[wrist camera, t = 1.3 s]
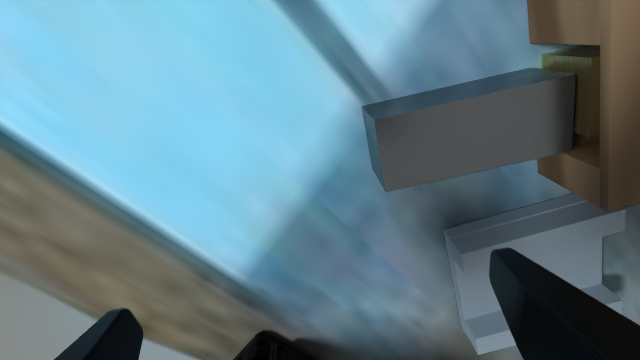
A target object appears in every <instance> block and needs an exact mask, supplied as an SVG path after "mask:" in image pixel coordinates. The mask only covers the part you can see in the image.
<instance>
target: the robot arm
mask: <svg viewBox="0 0 640 360" xmlns="http://www.w3.org/2000/svg"><path fill="white" fill-rule="evenodd" d="M489 279H490V283H491V286H492V288H493V291H494V293H495V295H496V298H497V300H498V303H499V305H500V307H501V310H502V312H503V315H504V317H505V319H506V322H507V324H508V327H509V329H510V332H511V334H512V336H513V339H514V341H515V343H516V345H517V347H518V349H519V351H520V353H521V355H522V357H523V359H524V360H640V325H638V324H636V323H635V322H633V321H631V320H630V319H628V318H626V317H625V316H623V315H622V314H620V313H618V312H617V311H615V310H613V309H612V308H610V307H608V306H607V305H605V304H603V303H602V302H600V301H598V300H597V299H595V298H593V297H592V296H590V295H588V294H587V293H585V292H584V291H582V290H580V289H579V288H577V287H575V286H574V285H572V284H570V283H569V282H567V281H565V280H564V279H562V278H560V277H559V276H557V275H555V274H554V273H552V272H550V271H549V270H547V269H546V268H544V267H542V266H541V265H539V264H537V263H536V262H534V261H532V260H531V259H529V258H527V257H526V256H524V255H522V254H521V253H519V252H517V251H516V250H514V249H512V248H509V247H506V248H500V249H494V250H492V251H491V254H490V266H489ZM142 340H143V329H142V327H141V325H140V324H139V322H138V321H137V320H136V318H135V317H134V315H133V314H132V312H131V311H130V310H129V309H127V308H121V309H115V310H111V311H109V312H107V313H106V314H105V315H104V316H103V317H102V318H101V319H99V320H98V321H97V322H96V323H95V324H94V325H93V326H92V327H91V328H89V329H88V330H87V331H86V332H85V333H84V334H83V335H81V336H80V337H79V338H78V339H77V340H76V341H75V342H73V343H72V344H71V345H70V346H69V347H68V348H67V349H66V350H64V351H63V352H62V353H61V354H60V355H59V356H58V357H56V359H54V360H138V359H139V354H140V350H141V345H142ZM260 340H264V341H260ZM233 360H314V359H312V358H310V357H308V356H306V355H305V354H303V353H301V352H299V351H297V350H295V349H294V348H292V347H290V346H288V345H286V344H284V343H283V342H281V341H279V340H277V339H275V338H274V337H272V336H270V335H268V334H266V333H258V334H257V335H255V337H254V338H253V339H252V340H251V341H250V342H249V343H248V344H247V345H246V346H245V347H244V348H243V350H242V351H241V352H240V353H239V354H238V355H237V356H236V357H235V358H234V359H233Z"/></svg>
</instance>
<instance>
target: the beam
mask: <svg viewBox="0 0 640 360" xmlns="http://www.w3.org/2000/svg"><path fill="white" fill-rule="evenodd" d="M527 5H528V20H529V35H530V43H531V44H576V45H600V134H598V135H594V136H590V137H587V136H584V135H582V134H579V133H576V132H573V136H572V151H569V152H564V153H560V154H555V155H551V156H546V157H542V158H538V173H539V174H541V175H543V176H545V177H546V178H548V179H550V180H552V181H554V182H555V183H557V184H559V185H561V186H562V187H564V188H566V189H568V190H570V191H571V192H573V193H575V194H577V195H578V196H580V197H582V198H584V199H585V200H587V201H589V202H591V203H593V204H594V205H596V206H598V207H600V208H601V209H603V210H605V211H607V212H611V211H614V210H618V209H621V208H625V207H629V206H632V205H636V204H640V0H527Z"/></svg>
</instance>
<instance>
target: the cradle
mask: <svg viewBox="0 0 640 360" xmlns="http://www.w3.org/2000/svg"><path fill="white" fill-rule="evenodd" d="M625 221H626V209H625V208H621V209H618V210H614V211H611V212H607V211H605V210H603V209H601V208H600V207H598V206H596V205H594V204H593V203H591V202H589V201H587V200H585V199H584V198H582V197H580V196H578V195H577V194H575V193H572V194H569V195H565V196H562V197H558V198H554V199H551V200H547V201H544V202H540V203H537V204H533V205H529V206H526V207H522V208H519V209H515V210H512V211H508V212H504V213H501V214H497V215H494V216H490V217H487V218H483V219H479V220H476V221H472V222H469V223H465V224H462V225H458V226H454V227H451V228H447V229H444V236H445V241H446V246H447V252H448V257H449V263H450V268H451V273H452V279H453V284H454V289H455V295H456V300H457V306H458V311H459V316H460V322H461V326H462V328H463V330H464V331H465V333H466V335H467V337H468V338H469V339H470V341H471V343H472V345H473V347H474V348H475V350H476V352H477V354H478V355H480V354H484V353H488V352H492V351H496V350H500V349H503V348H507V347H511V346H515V345H516V343H515V341H514V339H513V336H512V334H511V332H510V329H509V327H508V324H507V322H506V319H505V317H504V315H503V312H502V310H501V307H500V305H499V303H498V300H497V298H496V295H495V293H494V291H493V288H492V286H491V283H490V279H489V266H490V254H491V251H492V250H494V249H500V248H506V247H509V248H512V249H514V250H516V251H517V252H519V253H521V254H522V255H524V256H526V257H527V258H529V259H531V260H532V261H534V262H536V263H537V264H539V265H541V266H542V267H544V268H546V269H547V270H549V271H550V272H552V273H554V274H555V275H557V276H559V277H560V278H562V279H564V280H565V281H567V282H569V283H570V284H572V285H574V286H575V287H577V288H579V289H580V290H582V291H584V292H585V293H587V294H588V295H590V296H592V297H593V298H595V299H597V300H598V301H600V302H602V303H603V304H605V305H607V306H608V307H610V308H612V309H613V310H615V311H617V312H618V313H620V314H622V304H623V300H621V299H620V298H619V297H618V296H617V295H615V294H614V293H613V292H612V291H610V290H609V289H608V288H607V287H605V286H604V285H603V284H602V237H605V236H609V235H612V234H616V233H620V232H623V231H625Z"/></svg>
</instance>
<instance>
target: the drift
mask: <svg viewBox="0 0 640 360" xmlns="http://www.w3.org/2000/svg"><path fill="white" fill-rule="evenodd" d="M575 76H576V74H573V73H565V72H557V71H550V70H542V69H534V68H527V69H522V70H518V71H514V72H509V73H505V74H501V75H496V76H492V77H488V78H483V79H479V80H474V81H470V82H466V83H461V84H457V85H453V86H448V87H444V88H439V89H435V90H431V91H426V92H422V93H418V94H413V95H409V96H405V97H400V98H396V99H391V100H387V101H383V102H378V103H374V104H370V105H365V106H362V112H363V118H364V124H365V129H366V135H367V141H368V147H369V152H370V158H371V164H372V169H373V171H374V172H375V174H376V176H377V178H378V179H379V181H380V183H381V185H382V187H383V188H384V190H385V192H388V191H393V190H397V189H402V188H406V187H411V186H415V185H420V184H424V183H429V182H433V181H438V180H442V179H447V178H451V177H456V176H460V175H465V174H469V173H474V172H478V171H483V170H487V169H492V168H497V167H501V166H506V165H510V164H515V163H519V162H524V161H528V160H533V159H537V158H542V157H546V156H551V155H555V154H560V153H564V152H569V151H572V136H573V116H574V96H575Z"/></svg>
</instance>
